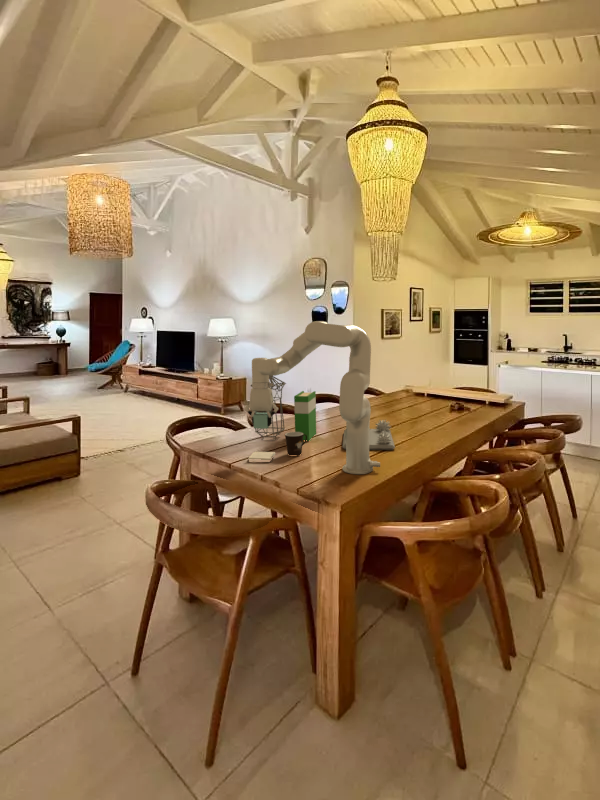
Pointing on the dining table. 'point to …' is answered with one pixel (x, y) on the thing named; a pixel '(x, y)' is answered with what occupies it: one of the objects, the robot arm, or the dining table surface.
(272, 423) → the geometric lantern
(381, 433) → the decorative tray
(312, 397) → the hardback book
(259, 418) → the block
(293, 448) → the coffee mug
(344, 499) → the dining table surface
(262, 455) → the coaster
